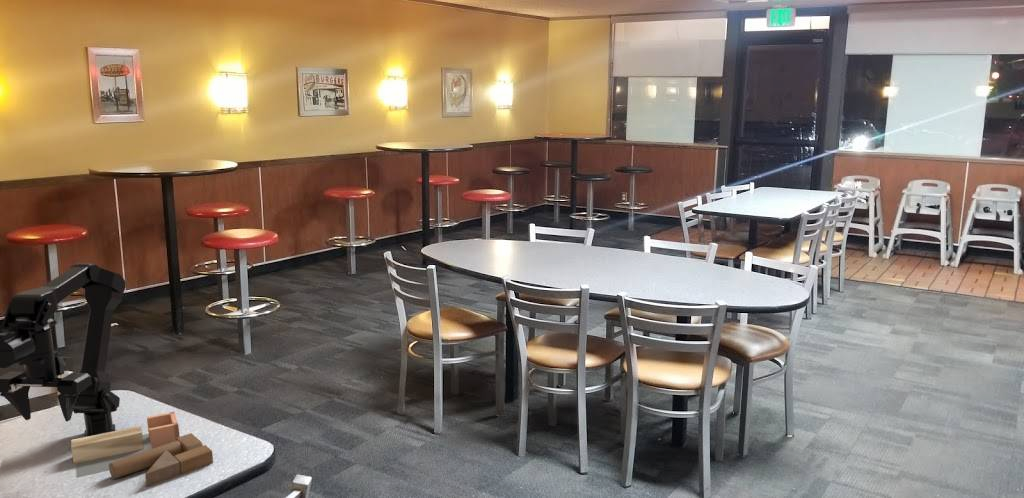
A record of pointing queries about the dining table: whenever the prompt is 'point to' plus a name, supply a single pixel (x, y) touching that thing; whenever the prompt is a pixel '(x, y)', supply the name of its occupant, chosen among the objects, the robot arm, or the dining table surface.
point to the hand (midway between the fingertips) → (48, 420)
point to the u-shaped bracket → (162, 429)
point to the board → (108, 460)
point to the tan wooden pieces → (165, 460)
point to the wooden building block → (107, 444)
